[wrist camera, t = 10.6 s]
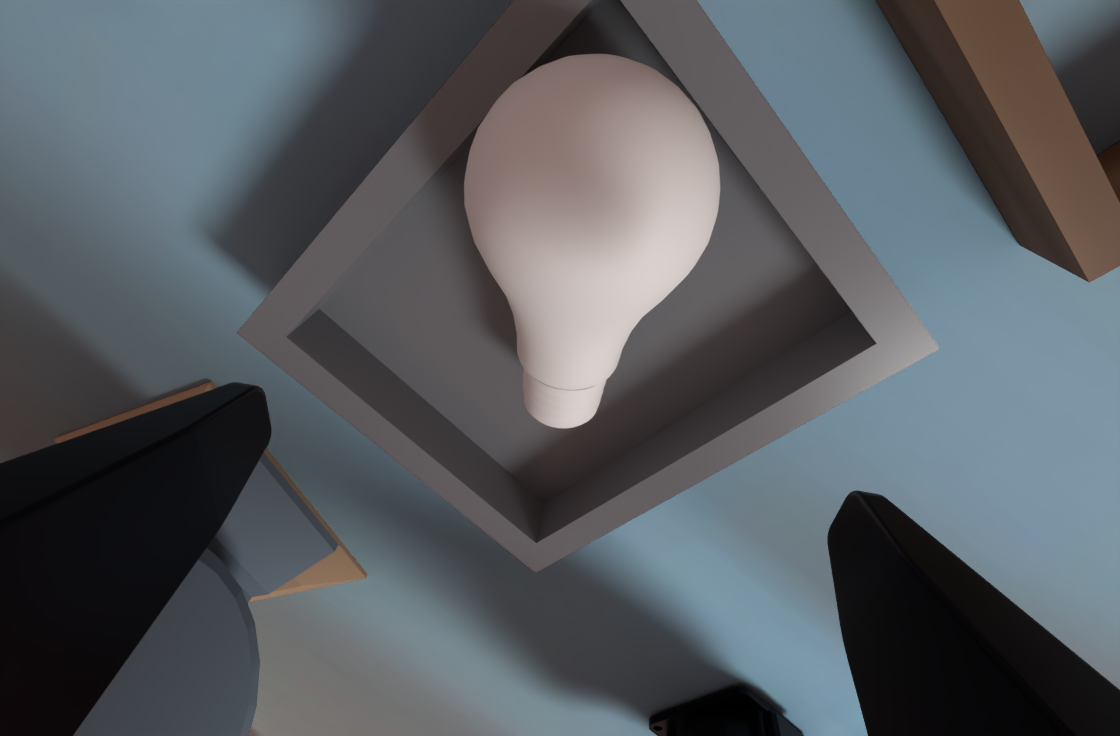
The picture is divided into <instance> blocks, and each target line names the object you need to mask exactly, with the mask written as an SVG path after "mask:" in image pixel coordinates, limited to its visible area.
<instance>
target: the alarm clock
mask: <svg viewBox="0 0 1120 736" xmlns="http://www.w3.org/2000/svg"><path fill="white" fill-rule="evenodd" d="M215 388H217V387H216V385H215V384H214V383H213V382H212V381H211V382H208V383H205V384H202V385H199V386H197V387H194V388H191V389H188V390H186V391H183V392H180V393H177V394H175V395H172V396H169V397H166V398H164V399H161V400H158V401H155V402H153V403H150V404H147V405H144V406H142V407H139V408H136V409H133V410H131V411H128V412H125V413H122V414H120V415H117V416H114V417H111V418H108V419H106V420H103V421H100V422H97V423H95V424H92V425H89V426H86V427H84V428H81V429H78V430H75V431H73V432H70V433H67V434H64V435H62V436H59V437H57V438H55V439H54V441H55V442H56V444H57V443H60V442H63V441H66V440H69V439H72V438H74V437H77V436H80V435H83V434H86V433H89V432H92V431H95V430H97V429H100V428H103V427H106V426H109V425H112V424H115V423H117V422H120V421H123V420H126V419H129V418H132V417H135V416H138V415H140V414H143V413H146V412H149V411H152V410H155V409H158V408H161V407H163V406H166V405H169V404H172V403H175V402H178V401H181V400H183V399H186V398H189V397H192V396H195V395H198V394H201V393H204V392H206V391H209V390H212V389H215ZM367 575H368V574H367V573H366V572H365V571H364V569H363V568H362V567H361V566H360V564H359V563H358V562H357V561H356V559H355V558H354V557H353V556H352V555H351V553H350V552H349V551H348V550H347V548H346V547H345V546H344V545H343V543H342V542H341V541H340V540H339V538H338V537H337V536H336V535H335V533H334V532H333V531H332V530H331V528H330V527H329V526H328V525H327V523H326V522H325V521H324V520H323V518H322V517H321V516H320V515H319V513H318V512H317V511H316V510H315V509H314V507H313V506H312V505H311V504H310V502H309V501H308V500H307V499H306V497H305V496H304V495H303V494H302V492H301V491H300V490H299V489H298V487H297V486H296V485H295V484H294V482H293V481H292V480H291V479H290V477H289V476H288V475H287V474H286V472H285V471H284V470H283V469H282V467H281V466H280V465H279V464H278V462H277V461H276V460H275V459H274V458H273V456H272V455H271V454H270V453H269V451H268V450H267V449H265V451H264V453H263V455H262V456H261V458H260V460H259V462H258V463H257V465H256V467H255V469H254V471H253V472H252V474H251V476H250V478H249V479H248V481H247V483H246V485H245V487H244V488H243V490H242V492H241V494H240V495H239V497H238V499H237V501H236V503H235V504H234V506H233V508H232V510H231V511H230V513H229V515H228V517H227V518H226V520H225V521H224V523H223V525H222V526H221V528H220V529H219V531H218V532H217V534H216V535H215V537H214V538H213V540H212V541H211V543H210V544H209V545H208V547H207V548H206V550H205V551H204V553H203V554H202V555H201V557H200V558H199V560H198V561H197V562H196V564H195V565H194V567H193V568H192V569H191V571H190V572H189V574H188V575H187V576H186V578H185V579H184V581H183V582H182V583H181V585H180V586H179V588H178V589H177V591H176V592H175V593H174V595H173V596H172V598H171V599H170V600H169V602H168V603H167V605H166V606H165V607H164V609H163V610H162V612H161V613H160V614H159V616H158V617H157V619H156V620H155V621H154V623H153V624H152V626H151V627H150V628H149V630H148V631H147V633H146V634H145V636H144V637H143V638H142V640H141V641H140V643H139V644H138V645H137V647H136V648H135V650H134V651H133V652H132V654H131V655H130V657H129V658H128V659H127V661H126V662H125V664H124V665H123V666H122V668H121V669H120V671H119V672H118V674H117V675H116V676H115V678H114V679H113V681H112V682H111V683H110V685H109V686H108V688H107V689H106V690H105V692H104V693H103V695H102V696H101V697H100V699H99V700H98V702H97V703H96V704H95V706H94V707H93V709H92V710H91V711H90V713H89V714H88V716H87V717H86V719H85V720H84V721H83V723H82V724H81V726H80V727H79V728H78V730H77V731H76V733H75V734H74V735H73V736H249V732H250V728H251V725H252V721H253V717H254V713H255V709H256V706H257V693H258V680H259V667H260V659H259V651H258V644H257V636H256V628H255V622H254V619H253V617H252V614H251V611H250V609H249V606H248V602H251V601H256V600H261V599H266V598H271V597H276V596H281V595H286V594H290V593H295V592H300V591H305V590H310V589H315V588H320V587H325V586H330V585H335V584H340V583H345V582H350V581H355V580H360V579H365V578H366V577H367Z"/></svg>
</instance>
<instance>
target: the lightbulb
mask: <svg viewBox="0 0 1120 736" xmlns="http://www.w3.org/2000/svg"><path fill="white" fill-rule="evenodd" d="M719 198H720V174H719V163H718V158H717V154H716V151H715V148H714V144H713V141H712V138H711V135H710V132H709V130H708V128H707V126H706V124H705V122H704V120H703V118H702V116H701V114H700V112H699V111H698V109H697V108H696V106H695V105H694V104H693V103H692V102H691V101H690V99H689V98H688V97H687V96H686V95H685V94H684V93H683V92H682V91H681V89H680V88H679V87H678V86H676V85H675V84H674V83H673V82H671V81H670V80H669V79H667V78H666V77H665V76H663V75H662V74H660V73H659V72H658V71H656V70H655V69H653V68H651V67H649V66H647V65H644V64H642V63H639V62H636V61H633V60H630V59H627V58H624V57H621V56H616V55H610V54H584V55H572V56H567V57H564V58H561V59H558V60H555V61H553V62H550V63H548V64H545V65H542V66H540V67H538V68H536V69H535V70H533V71H531V72H530V73H528V74H527V75H525V76H523V77H522V78H520V79H519V80H517V81H516V82H514V83H513V84H512V85H511V86H510V87H509V88H508V89H507V90H506V91H505V92H504V93H503V94H502V95H501V96H500V97H499V98H498V100H497V101H496V102H495V103H494V105H493V106H492V108H491V109H490V111H489V112H488V114H487V115H486V117H485V118H484V120H483V121H482V123H481V124H480V126H479V127H478V129H477V132H476V135H475V137H474V140H473V143H472V146H471V148H470V152H469V157H468V162H467V167H466V173H465V180H464V205H465V209H466V213H467V217H468V221H469V225H470V229H471V233H472V236H473V239H474V243H475V245H476V246H477V248H478V250H479V252H480V254H481V256H482V258H483V260H484V261H485V263H486V265H487V267H488V269H489V271H490V273H491V274H492V276H493V277H494V279H495V280H496V282H497V283H498V285H499V286H500V288H501V289H502V291H503V292H504V294H505V295H506V297H507V300H508V302H509V305H510V307H511V310H512V312H513V316H514V322H515V327H516V333H517V354H518V357H519V360H520V363H521V364H522V366H523V368H524V371H523V392H524V404H525V407H526V409H527V410H528V412H529V413H530V414H531V415H532V416H533V417H534V418H535V419H537V420H538V421H539V422H541V423H543V424H545V425H547V426H550V427H554V428H573V427H576V426H580V425H582V424H584V423H586V422H588V421H589V420H590V419H591V418H592V417H593V416H594V415H595V413H596V411H597V409H598V406H599V404H600V401H601V396H602V394H603V389H604V386H605V384H606V379H608V378H609V377H610V376H611V374H612V373H613V372H614V370H615V369H616V367H617V364H618V362H619V359H620V355H621V352H622V349H623V347H624V345H625V343H626V341H627V339H628V337H629V335H630V333H631V331H632V330H633V328H634V327H635V326H636V325H637V323H638V322H639V321H640V319H641V318H642V317H643V316H644V315H646V314H647V313H648V312H649V311H650V310H652V309H653V308H654V307H655V306H656V305H658V304H659V303H660V302H661V301H662V300H663V299H664V298H665V297H666V296H667V295H668V294H669V293H670V292H671V291H672V290H673V289H674V288H675V287H676V286H677V285H678V284H679V283H680V282H681V281H682V280H683V279H684V278H685V277H686V276H687V275H688V274H689V273H690V271H691V270H692V269H693V267H694V266H695V265H696V263H697V261H698V260H699V258H700V256H701V255H702V253H703V251H704V250H705V248H706V246H707V245H708V243H709V240H710V237H711V233H712V230H713V227H714V224H715V221H716V217H717V214H718V208H719Z"/></svg>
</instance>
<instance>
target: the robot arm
mask: <svg viewBox="0 0 1120 736" xmlns="http://www.w3.org/2000/svg"><path fill="white" fill-rule="evenodd" d="M270 438H271V423H270V418H269V412H268V407H267V401H266V396H265V393H264V391H263V389H262V388H260V387H258V386H255V385H249V384H243V383H236V382H235V383H229V384H226V385H224V386H221V387H218V388H215V389H212V390H209V391H206V392H204V393H201V394H198V395H195V396H192V397H189V398H186V399H183V400H181V401H178V402H175V403H172V404H169V405H166V406H163V407H161V408H158V409H155V410H152V411H149V412H146V413H143V414H140V415H138V416H135V417H132V418H129V419H126V420H123V421H120V422H117V423H115V424H112V425H109V426H106V427H103V428H100V429H97V430H95V431H92V432H89V433H86V434H83V435H80V436H77V437H74V438H72V439H69V440H66V441H63V442H60V443H57V444H54V445H52V446H49V447H46V448H43V449H40V450H37V451H34V452H31V453H29V454H26V455H23V456H20V457H17V458H14V459H11V460H9V461H6V462H3V463H0V736H73V735H74V734H75V733H76V731H77V730H78V728H79V727H80V726H81V724H82V723H83V721H84V720H85V719H86V717H87V716H88V714H89V713H90V711H91V710H92V709H93V707H94V706H95V704H96V703H97V702H98V700H99V699H100V697H101V696H102V695H103V693H104V692H105V690H106V689H107V688H108V686H109V685H110V683H111V682H112V681H113V679H114V678H115V676H116V675H117V674H118V672H119V671H120V669H121V668H122V666H123V665H124V664H125V662H126V661H127V659H128V658H129V657H130V655H131V654H132V652H133V651H134V650H135V648H136V647H137V645H138V644H139V643H140V641H141V640H142V638H143V637H144V636H145V634H146V633H147V631H148V630H149V628H150V627H151V626H152V624H153V623H154V621H155V620H156V619H157V617H158V616H159V614H160V613H161V612H162V610H163V609H164V607H165V606H166V605H167V603H168V602H169V600H170V599H171V598H172V596H173V595H174V593H175V592H176V591H177V589H178V588H179V586H180V585H181V583H182V582H183V581H184V579H185V578H186V576H187V575H188V574H189V572H190V571H191V569H192V568H193V567H194V565H195V564H196V562H197V561H198V560H199V558H200V557H201V555H202V554H203V553H204V551H205V550H206V548H207V547H208V545H209V544H210V543H211V541H212V540H213V538H214V537H215V535H216V534H217V532H218V531H219V529H220V528H221V526H222V525H223V523H224V521H225V520H226V518H227V517H228V515H229V513H230V511H231V510H232V508H233V506H234V504H235V503H236V501H237V499H238V497H239V495H240V494H241V492H242V490H243V488H244V487H245V485H246V483H247V481H248V479H249V478H250V476H251V474H252V472H253V471H254V469H255V467H256V465H257V463H258V462H259V460H260V458H261V456H262V455H263V453H264V451H265V449H266V447H267V446H268V444H269V441H270ZM828 550H829V556H830V563H831V569H832V576H833V582H834V588H835V595H836V601H837V608H838V614H839V621H840V627H841V632H842V637H843V642H844V646H845V651H846V655H847V659H848V662H849V666H850V670H851V674H852V677H853V681H854V685H855V688H856V692H857V696H858V700H859V703H860V707H861V711H862V714H863V718H864V722H865V726H866V729H867V733H868V736H1120V690H1119V689H1118V688H1117V687H1116V686H1114V685H1113V684H1112V683H1111V682H1110V681H1108V680H1107V679H1106V678H1105V677H1103V676H1102V675H1101V674H1100V673H1099V672H1097V671H1096V670H1095V669H1094V668H1092V667H1091V666H1090V665H1089V664H1088V663H1086V662H1085V661H1084V660H1083V659H1082V658H1080V657H1079V656H1078V655H1077V654H1075V653H1074V652H1073V651H1072V650H1071V649H1069V648H1068V647H1067V646H1066V645H1064V644H1063V643H1062V642H1061V641H1060V640H1058V639H1057V638H1056V637H1055V636H1053V635H1052V634H1051V633H1050V632H1049V631H1047V630H1046V629H1045V628H1044V627H1043V626H1041V625H1040V624H1039V623H1038V622H1036V621H1035V620H1034V619H1033V618H1032V617H1030V616H1029V615H1028V614H1027V613H1025V612H1024V611H1023V610H1022V609H1021V608H1019V607H1018V606H1017V605H1016V604H1014V603H1013V602H1012V601H1011V600H1010V599H1008V598H1007V597H1006V596H1005V595H1004V594H1002V593H1001V592H1000V591H999V590H997V589H996V588H995V587H994V586H993V585H991V584H990V583H989V582H988V581H986V580H985V579H984V578H983V577H982V576H980V575H979V574H978V573H977V572H975V571H974V570H973V569H972V568H971V567H969V566H968V565H967V564H966V563H965V562H963V561H962V560H961V559H960V558H958V557H957V556H956V555H955V554H954V553H952V552H951V551H950V550H949V549H947V548H946V547H945V546H944V545H943V544H941V543H940V542H939V541H938V540H936V539H935V538H934V537H933V536H932V535H930V534H929V533H928V532H927V531H926V530H924V529H923V528H922V527H921V526H919V525H918V524H917V523H916V522H915V521H913V520H912V519H911V518H910V517H908V516H907V515H906V514H905V513H904V512H902V511H901V510H900V509H899V508H898V507H896V506H895V505H894V504H893V503H891V502H890V501H889V500H888V499H887V498H885V497H884V496H882V495H879V494H875V493H869V492H863V491H853V492H851V493H849V494H848V496H847V497H846V499H845V500H844V502H843V504H842V506H841V508H840V510H839V511H838V513H837V515H836V517H835V519H834V521H833V522H832V524H831V526H830V529H829V532H828ZM649 729H650V730H651V731H652V732H653V733H655V734H656V735H657V736H803V735H802V734H801V733H800V732H799V731H798V730H796V729H795V728H794V727H793V726H792V725H790V724H789V723H788V722H787V721H786V720H785V719H783V718H782V717H781V716H780V715H779V714H778V713H776V712H775V711H774V710H773V709H772V708H771V707H769V706H768V705H767V704H766V703H765V702H764V701H762V700H761V699H760V698H759V697H758V696H757V695H755V694H754V693H753V692H752V691H751V690H749V689H748V688H746V687H743V686H738V687H734V688H731V689H729V690H726V691H723V692H720V693H717V694H715V695H712V696H709V697H706V698H703V699H700V700H698V701H695V702H692V703H689V704H686V705H684V706H681V707H678V708H675V709H672V710H670V711H667V712H664V713H661V714H658V715H656V716H653V717H651V718H650V719H649Z"/></svg>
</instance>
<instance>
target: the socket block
mask: <svg viewBox="0 0 1120 736" xmlns="http://www.w3.org/2000/svg"><path fill="white" fill-rule="evenodd" d="M876 1H877V3H878V4H879V6H880V8H881V10H882V11H883V13H884V15H885V16H886V18H887V20H888V21H889V23H890V25H891V27H892V28H893V30H894V32H895V33H896V35H897V37H898V39H899V40H900V42H901V44H902V45H903V47H904V49H905V50H906V52H907V54H908V56H909V57H910V59H911V61H912V62H913V64H914V66H915V68H916V69H917V71H918V73H919V74H920V76H921V78H922V79H923V81H924V83H925V85H926V86H927V88H928V90H929V91H930V93H931V95H932V97H933V98H934V100H935V102H936V103H937V105H938V107H939V108H940V110H941V112H942V114H943V115H944V117H945V119H946V120H947V122H948V124H949V126H950V127H951V129H952V131H953V132H954V134H955V136H956V137H957V139H958V141H959V143H960V144H961V146H962V148H963V149H964V151H965V153H966V155H967V156H968V158H969V160H970V161H971V163H972V165H973V166H974V168H975V170H976V172H977V173H978V175H979V177H980V178H981V180H982V182H983V184H984V185H985V187H986V189H987V190H988V192H989V194H990V195H991V197H992V199H993V201H994V202H995V204H996V206H997V207H998V209H999V211H1000V213H1001V214H1002V216H1003V218H1004V219H1005V221H1006V223H1007V224H1008V226H1009V228H1010V230H1011V231H1012V233H1013V235H1014V236H1015V238H1016V240H1017V242H1018V243H1019V245H1020V246H1022V247H1024V248H1026V249H1028V250H1030V251H1032V252H1033V253H1035V254H1037V255H1039V256H1041V257H1043V258H1045V259H1047V260H1048V261H1050V262H1052V263H1054V264H1056V265H1058V266H1060V267H1062V268H1063V269H1065V270H1067V271H1069V272H1071V273H1073V274H1075V275H1077V276H1078V277H1080V278H1082V279H1084V280H1086V281H1088V282H1091V281H1093V280H1095V279H1096V278H1098V277H1100V276H1102V275H1104V274H1106V273H1107V272H1109V271H1111V270H1113V269H1115V268H1117V267H1118V266H1120V142H1118V143H1117V144H1115V145H1113V146H1112V147H1110V148H1109V149H1107V150H1105V151H1104V152H1102V153H1101V154H1099V155H1097V156H1096V154H1095V152H1094V150H1093V148H1092V146H1091V144H1090V142H1089V140H1088V138H1087V136H1086V134H1085V132H1084V130H1083V128H1082V126H1081V124H1080V122H1079V120H1078V118H1077V116H1076V114H1075V112H1074V110H1073V108H1072V106H1071V104H1070V102H1069V100H1068V98H1067V96H1066V94H1065V92H1064V90H1063V88H1062V86H1061V84H1060V82H1059V80H1058V78H1057V75H1056V73H1055V71H1054V69H1053V67H1052V65H1051V63H1050V61H1049V59H1048V57H1047V55H1046V53H1045V51H1044V49H1043V47H1042V45H1041V43H1040V41H1039V39H1038V37H1037V35H1036V33H1035V31H1034V29H1033V27H1032V25H1031V23H1030V21H1029V19H1028V17H1027V15H1026V13H1025V11H1024V9H1023V7H1022V5H1021V3H1020V1H1019V0H876Z"/></svg>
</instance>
